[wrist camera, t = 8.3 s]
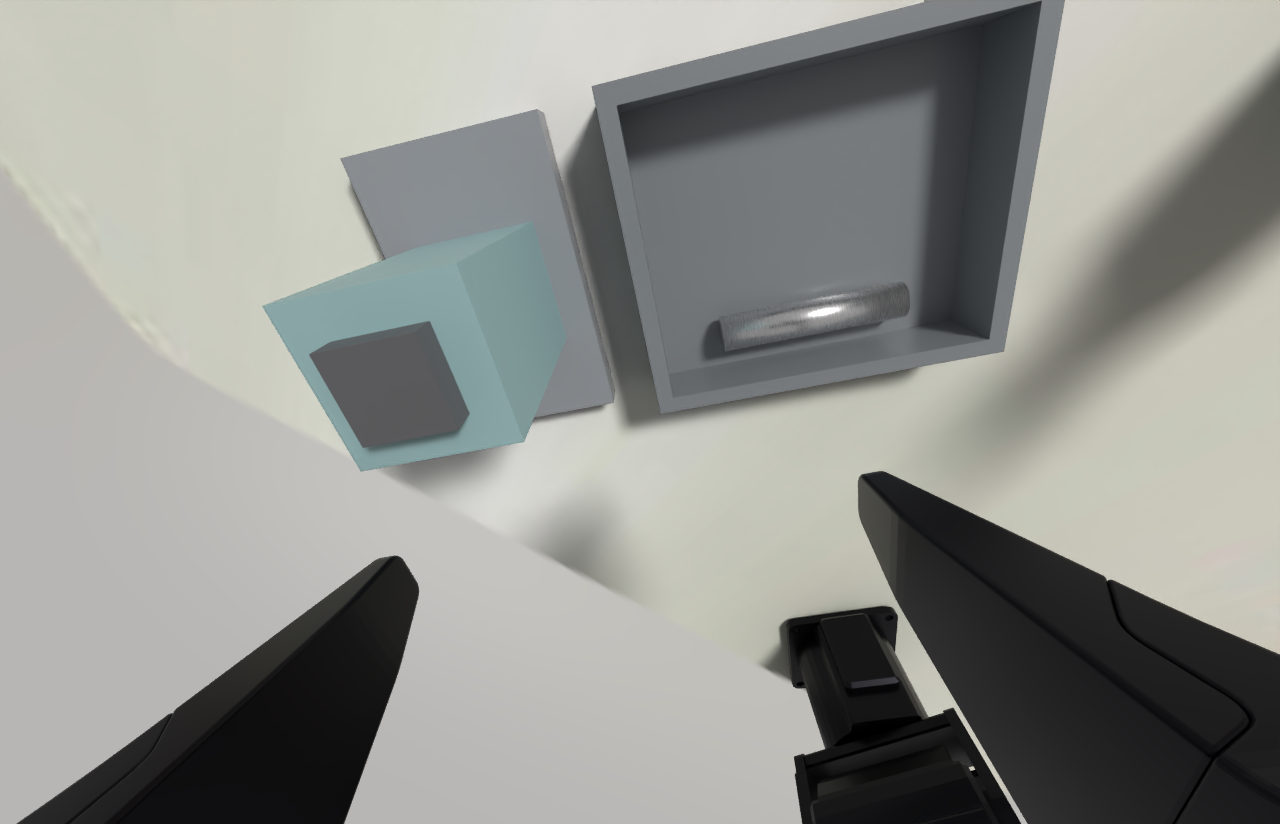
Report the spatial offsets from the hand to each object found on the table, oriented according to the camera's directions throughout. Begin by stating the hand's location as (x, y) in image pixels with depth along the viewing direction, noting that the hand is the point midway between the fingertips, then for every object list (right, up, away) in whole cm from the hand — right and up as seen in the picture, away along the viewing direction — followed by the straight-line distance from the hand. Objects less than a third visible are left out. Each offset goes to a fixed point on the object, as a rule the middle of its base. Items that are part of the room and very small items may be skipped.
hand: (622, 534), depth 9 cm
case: (+6, +10, +9) cm, 15 cm away
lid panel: (-5, +7, +10) cm, 14 cm away
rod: (+7, +6, +10) cm, 14 cm away
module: (-5, +7, +9) cm, 13 cm away
